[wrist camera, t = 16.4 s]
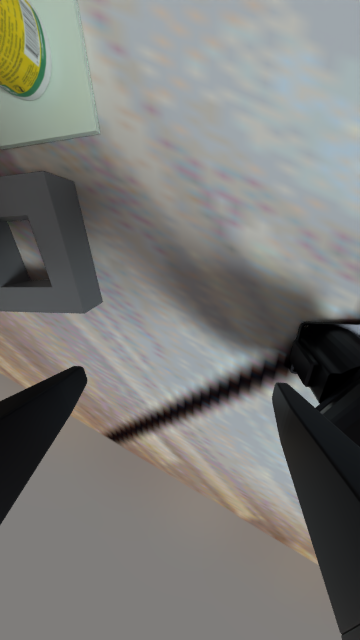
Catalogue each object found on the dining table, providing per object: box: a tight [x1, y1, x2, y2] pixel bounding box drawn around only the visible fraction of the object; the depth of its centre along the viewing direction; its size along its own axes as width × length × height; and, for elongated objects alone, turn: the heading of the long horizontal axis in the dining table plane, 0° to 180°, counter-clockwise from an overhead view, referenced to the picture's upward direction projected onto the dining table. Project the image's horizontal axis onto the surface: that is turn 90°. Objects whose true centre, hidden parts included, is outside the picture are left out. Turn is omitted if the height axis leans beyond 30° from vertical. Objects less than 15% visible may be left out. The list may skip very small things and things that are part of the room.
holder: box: [0, 171, 102, 313], centre depth 20 cm, size 12×12×4 cm
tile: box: [0, 0, 100, 149], centre depth 14 cm, size 10×10×1 cm
